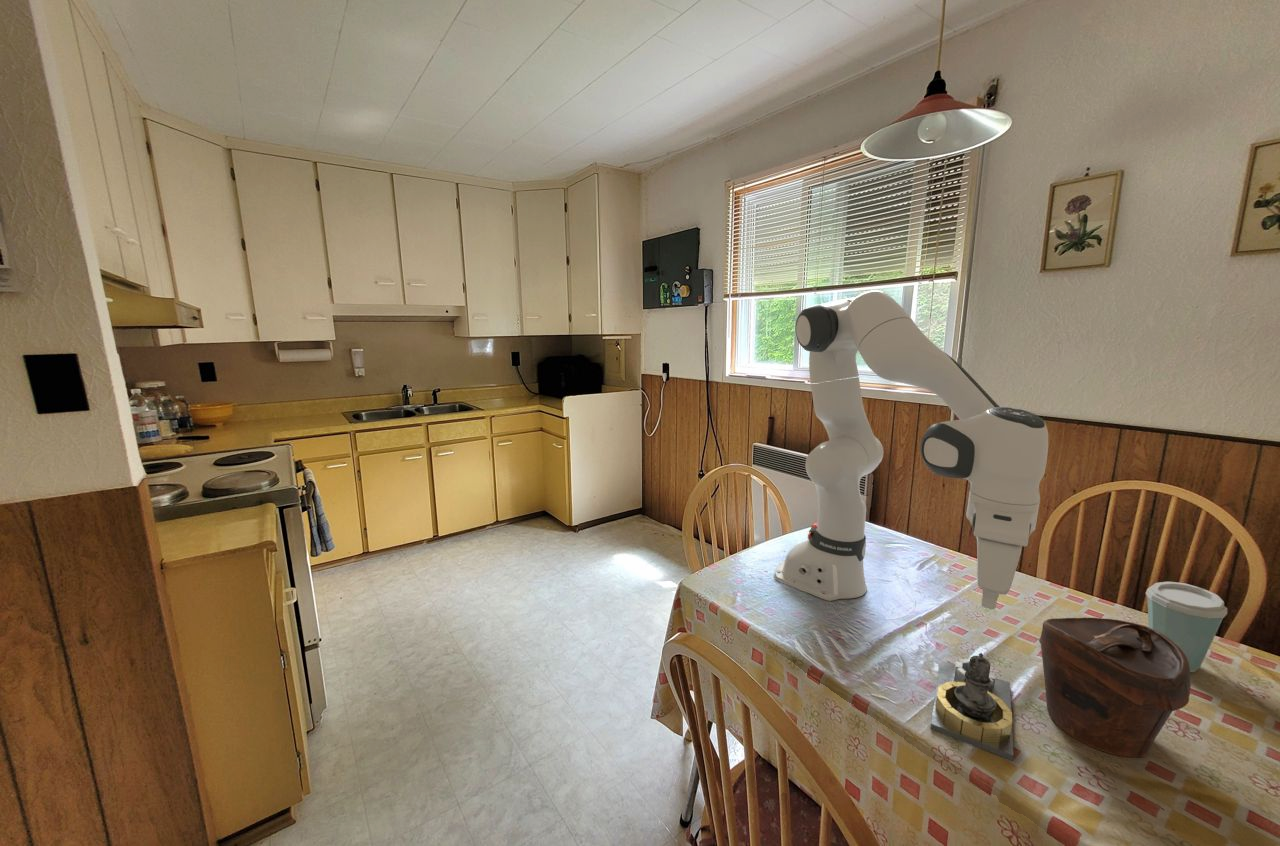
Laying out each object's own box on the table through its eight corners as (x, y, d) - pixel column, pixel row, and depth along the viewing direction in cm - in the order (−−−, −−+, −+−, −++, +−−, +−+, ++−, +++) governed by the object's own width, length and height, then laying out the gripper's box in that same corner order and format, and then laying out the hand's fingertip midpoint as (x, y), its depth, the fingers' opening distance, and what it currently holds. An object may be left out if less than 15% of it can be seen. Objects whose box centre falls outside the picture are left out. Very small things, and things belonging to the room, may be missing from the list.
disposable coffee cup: (1189, 685, 91) (1206, 611, 88) (1120, 649, 102) (1133, 582, 99) (1226, 674, 94) (1244, 602, 91) (1155, 640, 104) (1170, 574, 101)
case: (1169, 717, 84) (1188, 621, 81) (1184, 801, 70) (1209, 689, 66) (1035, 671, 96) (1047, 586, 92) (1025, 735, 81) (1038, 637, 78)
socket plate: (930, 728, 82) (932, 710, 82) (939, 664, 98) (941, 648, 97) (1012, 760, 76) (1015, 741, 75) (1009, 687, 91) (1011, 670, 91)
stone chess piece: (1000, 732, 80) (1011, 667, 78) (960, 727, 81) (969, 662, 79) (983, 705, 86) (992, 643, 83) (946, 701, 87) (954, 640, 85)
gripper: (978, 490, 88) (968, 562, 90) (974, 529, 71) (962, 616, 74) (1023, 497, 84) (1011, 571, 87) (1029, 540, 68) (1014, 631, 71)
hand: (988, 592), depth 80 cm, fingers open, 8 cm apart
